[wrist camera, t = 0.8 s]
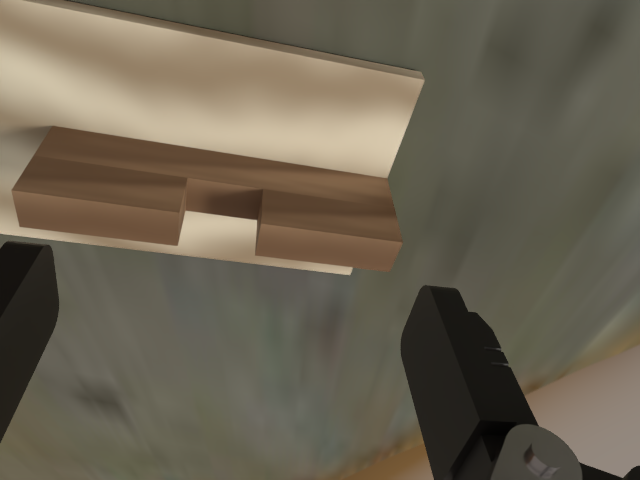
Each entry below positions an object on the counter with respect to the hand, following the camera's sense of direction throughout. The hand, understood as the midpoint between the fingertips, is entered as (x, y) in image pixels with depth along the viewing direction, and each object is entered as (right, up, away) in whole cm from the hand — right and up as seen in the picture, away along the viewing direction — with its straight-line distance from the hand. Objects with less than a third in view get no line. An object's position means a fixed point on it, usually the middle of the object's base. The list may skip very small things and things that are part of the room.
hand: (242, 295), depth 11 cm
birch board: (-10, +7, +20) cm, 23 cm away
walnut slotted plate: (-4, +6, +20) cm, 21 cm away
